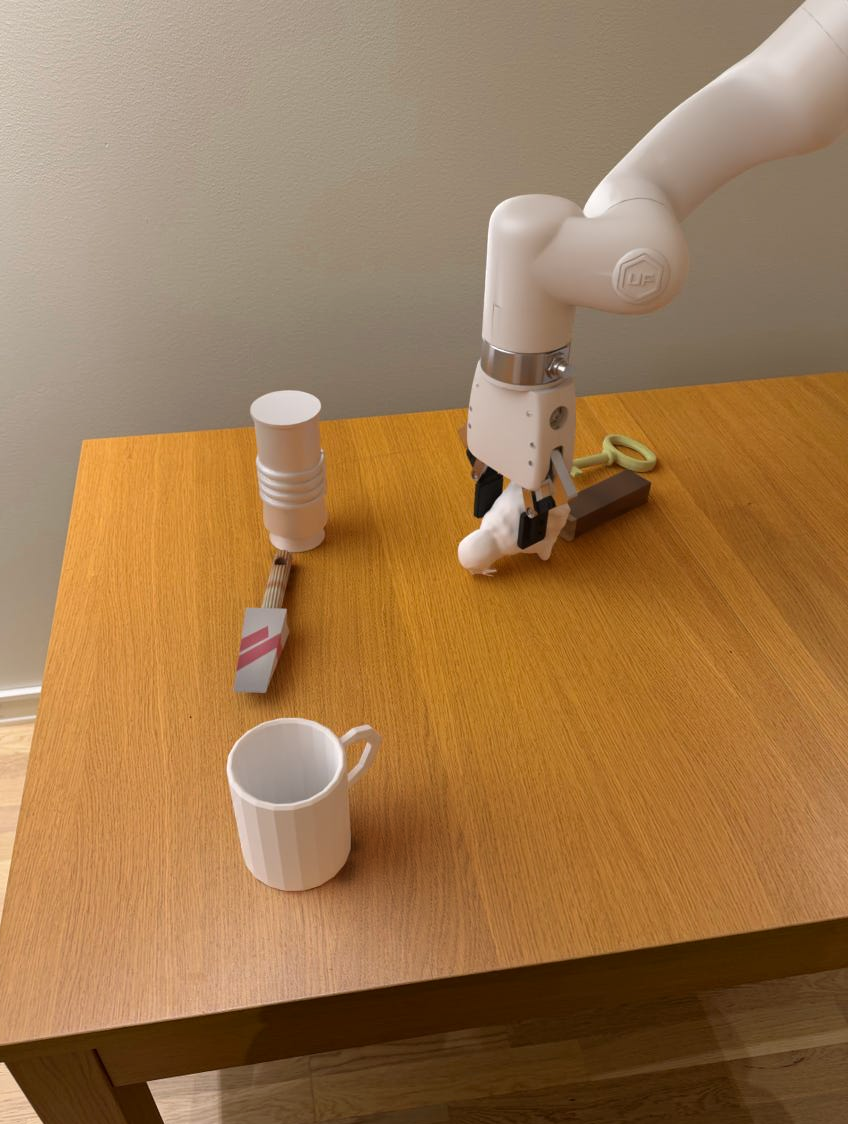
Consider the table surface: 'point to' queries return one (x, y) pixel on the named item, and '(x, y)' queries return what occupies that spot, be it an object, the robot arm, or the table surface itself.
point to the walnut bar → (605, 502)
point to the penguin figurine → (507, 532)
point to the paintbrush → (264, 631)
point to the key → (617, 456)
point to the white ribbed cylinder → (291, 469)
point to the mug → (295, 799)
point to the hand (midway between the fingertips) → (508, 526)
